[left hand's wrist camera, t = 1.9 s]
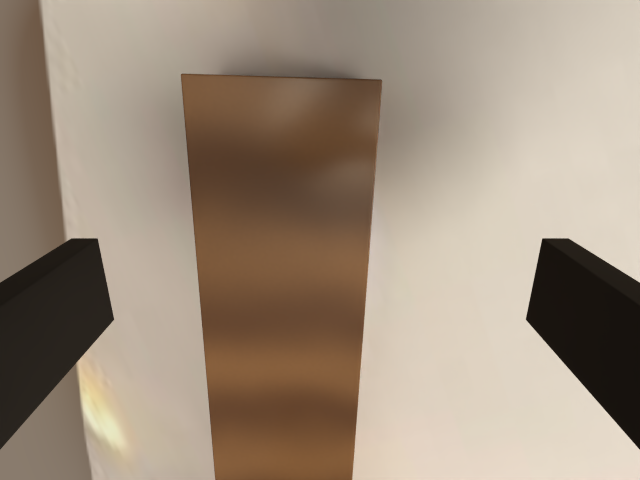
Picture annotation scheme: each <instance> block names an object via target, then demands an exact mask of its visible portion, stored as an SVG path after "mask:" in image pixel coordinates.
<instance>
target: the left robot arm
mask: <svg viewBox="0 0 640 480" xmlns="http://www.w3.org/2000/svg"><path fill="white" fill-rule="evenodd" d="M113 320H114V317H113V312H112V307H111V302H110V297H109V292H108V287H107V282H106V278H105V273H104V268H103V263H102V258H101V253H100V248H99V243H98V239H70V240H68V241H67V242H65V243H64V244H62V245H60V246H59V247H57V248H56V249H54V250H52V251H51V252H49V253H47V254H46V255H44V256H43V257H41V258H39V259H38V260H36V261H35V262H33V263H31V264H30V265H28V266H26V267H25V268H23V269H22V270H20V271H18V272H17V273H15V274H14V275H12V276H10V277H9V278H7V279H5V280H4V281H2V282H1V283H0V449H1V448H2V447H3V446H4V445H5V443H6V442H7V441H8V440H9V439H10V438H11V437H12V435H13V434H14V433H15V432H16V431H17V430H18V429H19V427H20V426H21V425H22V424H23V423H24V422H25V421H26V419H27V418H28V417H29V416H30V415H31V414H32V413H33V411H34V410H35V409H36V408H37V407H38V406H39V405H40V403H41V402H42V401H43V400H44V399H45V398H46V397H47V395H48V394H49V393H50V392H51V391H52V390H53V389H54V387H55V386H56V385H57V384H58V383H59V382H60V381H61V380H62V378H63V377H64V376H65V375H66V374H67V373H68V372H69V370H70V369H71V368H72V367H73V366H74V365H75V364H76V362H77V361H78V360H79V359H80V358H81V357H82V356H83V354H84V353H85V352H86V351H87V350H88V349H89V348H90V346H91V345H92V344H93V343H94V342H95V341H96V340H97V338H98V337H99V336H100V335H101V334H102V333H103V332H104V330H105V329H106V328H107V327H108V326H109V325H110V324H111V323H112V321H113ZM526 320H527V321H528V323H529V324H530V325H531V326H532V327H533V328H534V329H535V330H536V332H537V333H538V334H539V335H540V336H541V337H542V338H543V340H544V341H545V342H546V343H547V344H548V345H549V346H550V348H551V349H552V350H553V351H554V352H555V353H556V354H557V356H558V357H559V358H560V359H561V360H562V361H563V362H564V364H565V365H566V366H567V367H568V368H569V369H570V370H571V372H572V373H573V374H574V375H575V376H576V377H577V378H578V380H579V381H580V382H581V383H582V384H583V385H584V386H585V388H586V389H587V390H588V391H589V392H590V393H591V394H592V396H593V397H594V398H595V399H596V400H597V401H598V402H599V403H600V405H601V406H602V407H603V408H604V409H605V410H606V411H607V413H608V414H609V415H610V416H611V417H612V418H613V419H614V421H615V422H616V423H617V424H618V425H619V426H620V427H621V429H622V430H623V431H624V432H625V433H626V434H627V435H628V437H629V438H630V439H631V440H632V441H633V442H634V443H635V445H636V446H637V447H638V448H639V449H640V283H639V282H638V281H636V280H635V279H633V278H631V277H630V276H628V275H626V274H625V273H623V272H622V271H620V270H618V269H617V268H615V267H614V266H612V265H610V264H609V263H607V262H605V261H604V260H602V259H601V258H599V257H597V256H596V255H594V254H593V253H591V252H589V251H588V250H586V249H584V248H583V247H581V246H580V245H578V244H576V243H575V242H573V241H572V240H570V239H542V243H541V248H540V253H539V258H538V263H537V268H536V273H535V278H534V282H533V287H532V292H531V297H530V302H529V307H528V312H527V317H526Z"/></svg>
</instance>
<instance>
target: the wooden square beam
mask: <svg viewBox="0 0 640 480" xmlns="http://www.w3.org/2000/svg"><path fill="white" fill-rule="evenodd" d="M181 81H182V93H183V105H184V116H185V128H186V140H187V152H188V163H189V175H190V187H191V199H192V210H193V222H194V234H195V246H196V257H197V269H198V281H199V293H200V304H201V316H202V328H203V340H204V351H205V363H206V375H207V387H208V398H209V410H210V422H211V434H212V445H213V457H214V469H215V480H352V475H353V461H354V448H355V435H356V421H357V408H358V395H359V381H360V368H361V355H362V342H363V328H364V315H365V302H366V288H367V275H368V262H369V248H370V235H371V222H372V209H373V195H374V182H375V169H376V155H377V142H378V129H379V116H380V102H381V89H382V80H376V79H342V78H308V77H274V76H240V75H206V74H181Z"/></svg>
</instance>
